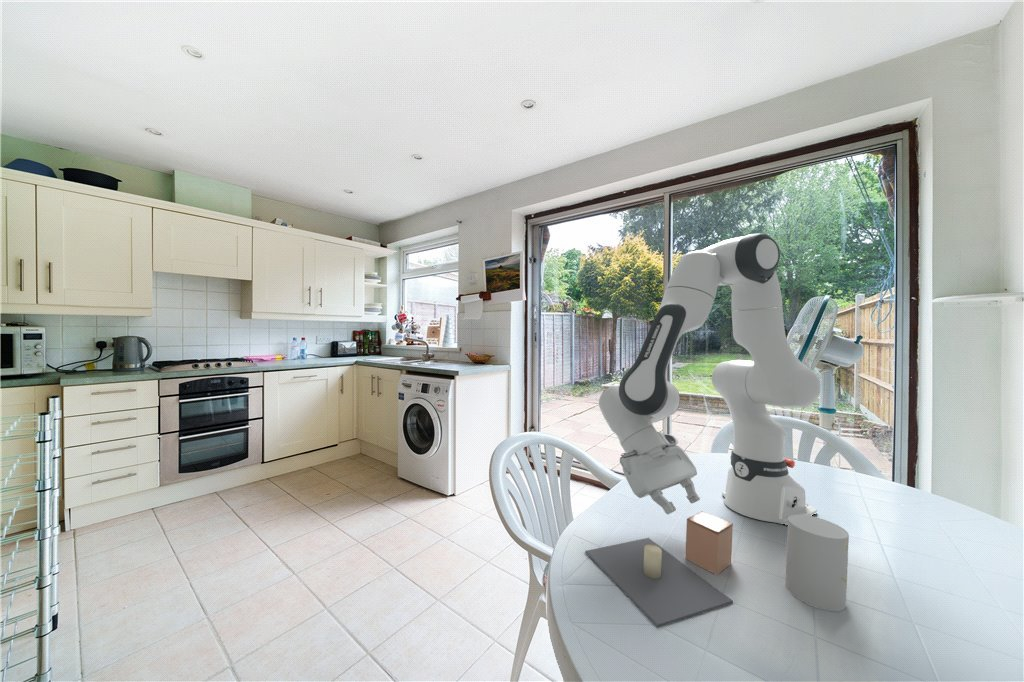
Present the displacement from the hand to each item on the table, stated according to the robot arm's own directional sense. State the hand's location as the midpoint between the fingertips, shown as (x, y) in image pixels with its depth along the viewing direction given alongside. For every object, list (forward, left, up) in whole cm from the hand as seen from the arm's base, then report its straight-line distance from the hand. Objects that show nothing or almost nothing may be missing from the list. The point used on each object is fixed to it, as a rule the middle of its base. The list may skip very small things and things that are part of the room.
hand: (684, 507), depth 76 cm
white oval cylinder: (-11, +18, -9) cm, 23 cm away
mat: (+13, +5, -9) cm, 16 cm away
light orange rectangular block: (-1, +5, -9) cm, 10 cm away
